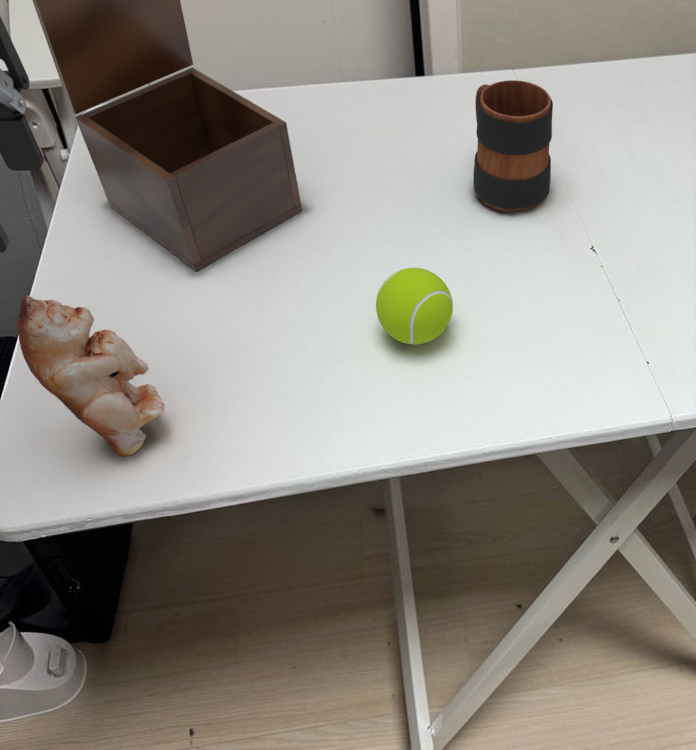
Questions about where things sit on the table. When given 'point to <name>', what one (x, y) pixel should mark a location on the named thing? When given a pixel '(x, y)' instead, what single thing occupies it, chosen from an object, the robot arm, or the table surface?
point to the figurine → (88, 371)
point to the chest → (193, 165)
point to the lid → (112, 45)
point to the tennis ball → (414, 306)
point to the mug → (513, 145)
